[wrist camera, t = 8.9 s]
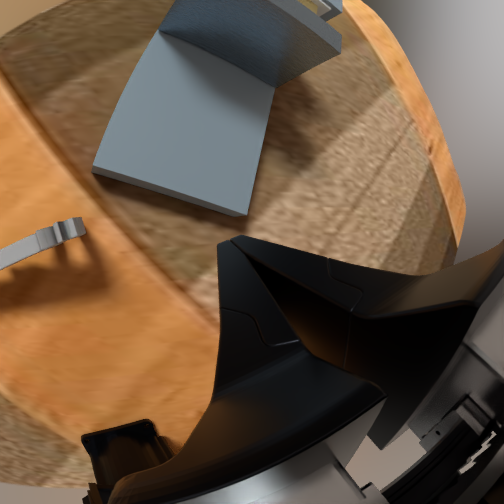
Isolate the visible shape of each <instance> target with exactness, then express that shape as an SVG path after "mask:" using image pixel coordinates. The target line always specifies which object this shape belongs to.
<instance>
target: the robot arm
mask: <svg viewBox="0 0 504 504" xmlns="http://www.w3.org/2000/svg"><path fill="white" fill-rule="evenodd" d="M217 265H218V289H219V309H220V310H219V313H220V337H219V349H218V356H217V364H216V372H215V381H214V388H213V393H212V398H211V401H210V404H209V406H208V408H207V409H206V411H205V413H204V414H203V416H202V417H201V419H200V421H199V422H198V424H197V425H196V427H195V428H194V430H193V432H192V433H191V435H190V436H189V438H188V439H187V441H186V443H185V444H184V446H183V447H182V448H181V450H180V451H179V452H178V453H177V454H176V455H174V453H173V452H172V450H171V448H170V447H169V445H168V444H167V442H166V440H165V439H164V437H162V436H159V437H157V435H156V432H155V430H154V427H153V425H152V423H151V421H150V420H149V419H142V420H139V421H135V422H132V423H128V424H125V425H121V426H117V427H113V428H109V429H105V430H101V431H97V432H93V433H88V434H84V435H82V436H81V441H82V444H83V446H84V447H85V449H86V451H87V452H88V454H89V456H90V458H91V462H92V466H93V470H94V474H95V478H96V482H97V484H96V483H88V484H89V489H90V490H88V491H87V492H88V495H87V496H86V497H84V498H83V499H82V500H83V504H504V239H503V241H502V242H501V243H500V244H498V245H497V246H495V247H494V248H492V249H490V250H488V251H486V252H484V253H482V254H480V255H477V256H475V257H473V258H470V259H468V260H465V261H463V262H460V263H458V264H455V265H453V266H450V267H448V268H445V269H443V270H440V271H437V272H435V273H432V274H428V275H421V276H414V275H407V274H401V273H396V272H391V271H385V270H380V269H374V268H369V267H364V266H359V265H355V264H351V263H347V262H343V261H339V260H335V259H331V258H327V257H324V256H320V255H316V254H313V253H309V252H305V251H301V250H298V249H294V248H290V247H286V246H283V245H279V244H275V243H271V242H267V241H264V240H260V239H256V238H252V237H248V236H245V235H239V236H236V237H234V238H231V239H230V241H229V240H226V241H224V242H221V243H219V244H217ZM145 424H148V425H147V426H144V425H145ZM409 428H410V429H411V430H412V431H413V432H414V434H415V435H416V436H417V437H418V438H419V439H420V440H421V441H420V442H419V443H420V445H421V446H422V447H423V448H424V449H425V450H426V451H427V453H426V454H425V455H424V456H422V457H421V458H420V459H419V460H418V461H417V462H416V463H414V464H413V465H412V466H411V467H410V468H409V469H407V470H406V471H405V472H404V473H402V474H401V475H400V476H399V477H397V478H396V479H395V480H394V481H392V482H391V483H390V484H388V485H387V486H386V487H384V488H383V489H382V490H380V491H379V490H378V489H377V488H376V487H375V485H374V484H373V483H372V482H369V483H368V484H366V485H365V486H363V487H361V488H359V486H358V485H357V484H356V483H355V481H354V480H353V479H352V477H351V476H350V475H349V474H348V472H347V471H346V470H345V467H346V465H347V464H348V463H349V461H350V460H351V458H352V457H353V455H354V454H355V452H356V450H357V449H358V447H359V446H360V444H361V443H362V441H363V439H364V438H365V436H366V435H367V436H368V437H369V438H370V439H371V440H372V441H373V442H374V444H375V445H376V446H377V447H378V448H379V449H380V450H383V449H384V448H385V447H387V446H388V445H389V444H391V443H392V442H393V441H394V440H396V439H397V438H398V437H399V436H400V435H402V434H403V433H404V432H405V431H407V430H408V429H409ZM492 431H494V432H495V433H496V434H497V435H495V436H494V437H493V438H492V439H491V440H490V441H489V442H488V444H487V446H488V448H487V449H486V450H485V451H484V452H482V453H481V454H480V455H479V456H477V457H476V458H475V459H474V460H473V463H474V466H472V467H471V468H470V469H468V470H467V471H465V472H464V473H462V474H461V473H460V471H459V470H460V469H461V468H462V467H464V466H465V465H467V464H468V463H469V462H470V461H471V456H473V455H474V454H475V453H477V452H478V451H479V450H480V449H481V448H482V446H481V445H482V444H483V443H484V442H485V441H486V440H488V439H489V438H490V437H491V435H492V434H491V432H492ZM85 439H88V440H89V441H85Z"/></svg>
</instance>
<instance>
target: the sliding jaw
mask: <svg viewBox="0 0 504 504" xmlns="http://www.w3.org/2000/svg"><path fill="white" fill-rule="evenodd" d="M158 30H160V31H163V32H165V33H168V34H170V35H173V36H175V37H177V38H180V39H182V40H185V41H187V42H189V43H191V44H194V45H196V46H198V47H200V48H202V49H205V50H207V51H209V52H211V53H213V54H215V55H217V56H219V57H221V58H223V59H225V60H227V61H229V62H231V63H233V64H235V65H237V66H238V67H240V68H242V69H244V70H246V71H248V72H249V73H251V74H253V75H255V76H257V77H258V78H260V79H262V80H263V81H265V82H267V83H269V84H270V85H272V86H274V87H275V88H278V87H279V86H281V85H283V84H284V83H286V82H288V81H290V80H291V79H293V78H295V77H297V76H299V75H300V74H302V73H304V72H306V71H308V70H310V69H311V68H313V67H315V66H317V65H319V64H321V63H323V62H325V61H327V60H329V59H331V58H333V57H335V56H337V55H339V54H341V39H342V35H341V34H340V33H338V32H337V31H336V30H335V29H334V28H333V27H331V26H330V25H329V24H328V23H326V22H325V21H324V20H323V19H321V18H320V17H319V16H318V15H316V14H315V13H314V12H312V11H311V10H310V9H308V8H307V7H306V6H304V5H303V4H302V3H300V2H299V1H297V0H175V2H174V4H173V5H172V7H171V8H170V10H169V11H168V13H167V15H166V16H165V18H164V20H163V21H162V23H161V25H160V26H159V28H158Z"/></svg>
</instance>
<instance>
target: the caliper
mask: <svg viewBox="0 0 504 504" xmlns="http://www.w3.org/2000/svg"><path fill="white" fill-rule="evenodd" d="M84 234H86V231H85V228H84V224H83V221H82V217H77V218H70V219H68V220H65V221H63V222H56V223H54V224H53V226H51V227H47V228H43V229H40V230H37V231H36V233H35V234H33V235H30V236H28V237H26V238H24V239H22V240H19V241H17V242H15V243H13V244H11V245H9V246H7V247H5V248H3V249H1V250H0V270H2V269H4V268H6V267H8V266H10V265H13V264H15V263H17V262H19V261H21V260H23V259H25V258H28V257H30V256H32V255H34V254H37V253H39V252H42V251H44V250H47V249H49V248H52V247H55V246H57V245H60V244H62V243H63V242H64V241H67V240H70V239H73V238H76V237H80V236H82V235H84Z"/></svg>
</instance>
